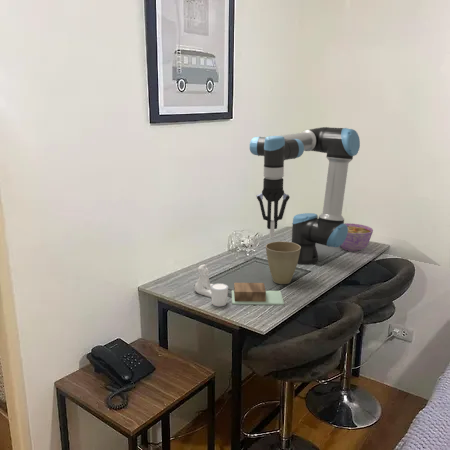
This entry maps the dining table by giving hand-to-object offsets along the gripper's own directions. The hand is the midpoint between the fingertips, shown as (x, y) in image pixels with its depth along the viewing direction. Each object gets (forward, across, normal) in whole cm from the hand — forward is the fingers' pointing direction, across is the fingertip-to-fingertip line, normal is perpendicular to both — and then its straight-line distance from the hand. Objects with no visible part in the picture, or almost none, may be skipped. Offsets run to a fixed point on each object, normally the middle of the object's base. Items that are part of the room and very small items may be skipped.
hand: (271, 236), depth 180 cm
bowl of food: (+27, -49, -58) cm, 81 cm away
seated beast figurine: (+24, +27, 0) cm, 36 cm away
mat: (+24, +6, +5) cm, 25 cm away
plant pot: (+25, -6, -13) cm, 29 cm away
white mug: (+24, +21, +10) cm, 33 cm away
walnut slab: (+22, +3, +5) cm, 22 cm away
